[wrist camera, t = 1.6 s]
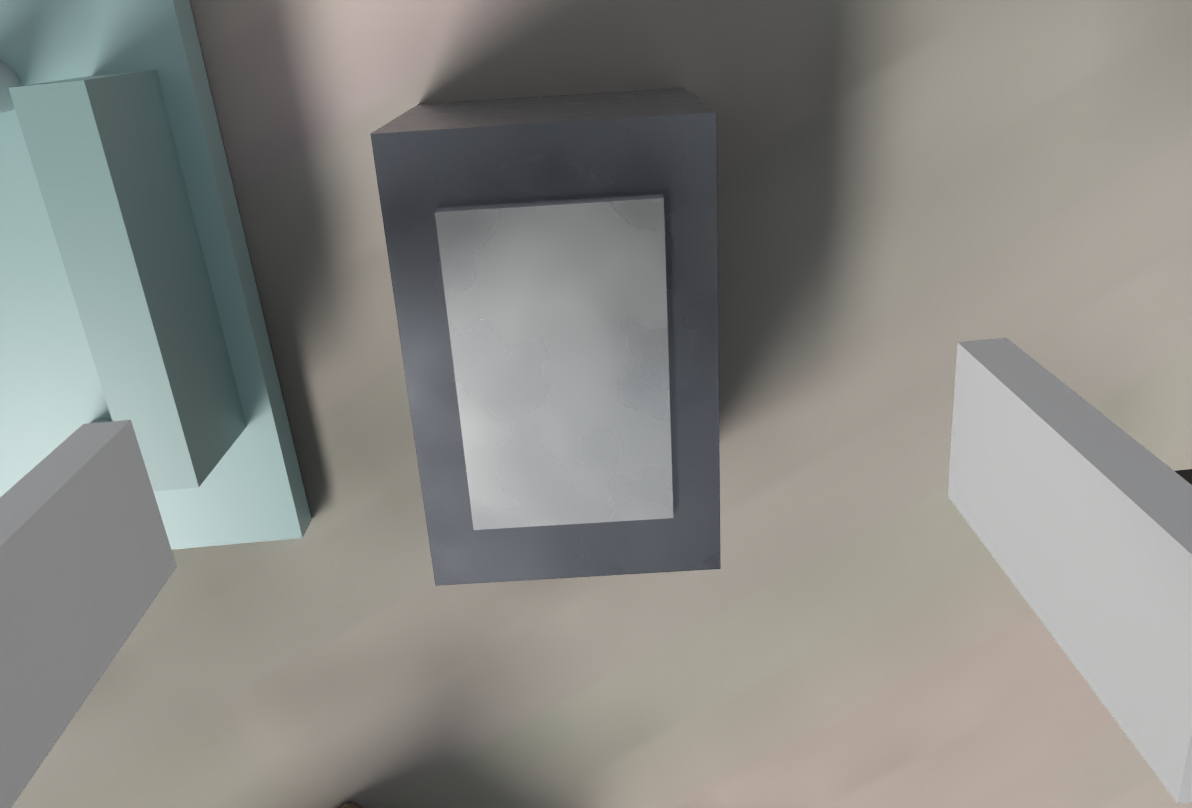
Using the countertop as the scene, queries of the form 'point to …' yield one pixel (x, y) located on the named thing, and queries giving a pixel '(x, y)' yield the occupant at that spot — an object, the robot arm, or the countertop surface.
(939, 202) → the countertop surface
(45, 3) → the pin tray
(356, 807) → the beverage carton
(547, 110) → the block
